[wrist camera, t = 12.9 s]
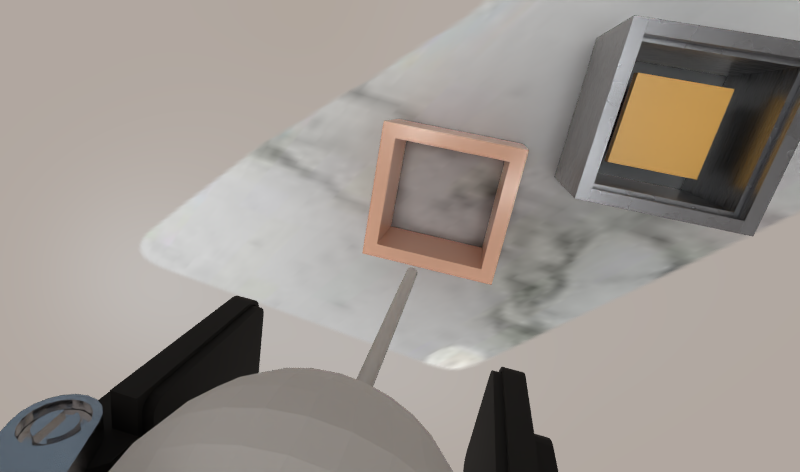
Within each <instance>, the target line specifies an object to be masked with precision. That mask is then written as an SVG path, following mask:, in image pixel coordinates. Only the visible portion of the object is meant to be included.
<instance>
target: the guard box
mask: <svg viewBox="0 0 800 472" xmlns="http://www.w3.org/2000/svg"><path fill="white" fill-rule="evenodd" d="M635 61H639V62H645V63H651V64H657V65H663V66H669V67H675V68H681V69H686V70H692V71H698V72H704V73H710V74H716V75H722V76H727V77H726V80H725V82H724V85H723V87H725V88H731V89H735V90H734V92H733V94H732V97H731V99H730V102H729V104H728V106H727V109H726V111H725V114H724V116H723V118H722V121H721V123H720V125H719V128H718V130H717V133H716V135H715V137H714V140H713V142H712V145H711V147H710V149H709V152H708V154H707V156H706V159H705V161H704V164H703V166H702V168H701V171H700V173H699V176H698V178H697V180H696V179H691V178H685V180H684V183H683V185H682V187H681V189H676V188H671V187H666V186H661V185H656V184H651V183H647V182H642V181H637V180H632V179H627V178H622V177H617V176H612V175H607V174H603V173H598V170H599V167H600V164H601V161H602V158H603V155H604V152H605V149H606V146H607V143H608V140H609V137H610V135H611V132H612V129H613V126H614V123H615V120H616V117H617V114H618V111H619V108H620V105H621V102H622V99H623V96H624V93H625V90H626V87H627V84H628V81H629V78H630V75H631V72H632V69H633V66H634V64H635ZM799 141H800V41H796V40H790V39H784V38H777V37H771V36H764V35H758V34H751V33H745V32H739V31H732V30H726V29H719V28H713V27H707V26H700V25H694V24H687V23H681V22H675V21H668V20H662V19H655V18H649V17H642V16H636V15H634V16H632V17H631V18H629V19H627V20H626V21H624V22H623V23H621V24H619V25H618V26H616V27H614V28H613V29H611V30H609V31H608V32H606V33H604V34H603V35H601V36H600V37H598V38H597V39H596V42H595V45H594V49H593V52H592V55H591V59H590V62H589V65H588V68H587V72H586V75H585V78H584V81H583V85H582V88H581V91H580V95H579V98H578V101H577V104H576V108H575V111H574V114H573V118H572V121H571V124H570V127H569V131H568V134H567V137H566V141H565V144H564V147H563V150H562V154H561V157H560V160H559V164H558V167H557V170H556V173H555V178H556V179H557V180H558V181H559V182H560V183H561V185H562V186H563V187H564V188H565V189H566V190H567V191H568V192H569V193H570V194H571V195H572V196H573V197H574V198H575V199H580V200H585V201H589V202H594V203H599V204H604V205H608V206H613V207H618V208H622V209H627V210H632V211H636V212H641V213H646V214H650V215H655V216H660V217H664V218H669V219H674V220H679V221H683V222H688V223H693V224H697V225H702V226H707V227H711V228H716V229H721V230H725V231H730V232H735V233H739V234H744V235H749V236H754V234H755V232H756V229H757V227H758V225H759V223H760V221H761V219H762V217H763V215H764V213H765V211H766V209H767V207H768V205H769V203H770V201H771V199H772V197H773V195H774V192H775V190H776V188H777V186H778V184H779V182H780V180H781V178H782V176H783V174H784V172H785V170H786V168H787V166H788V164H789V162H790V160H791V157H792V155H793V153H794V151H795V149H796V147H797V145H798V143H799Z"/></svg>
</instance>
